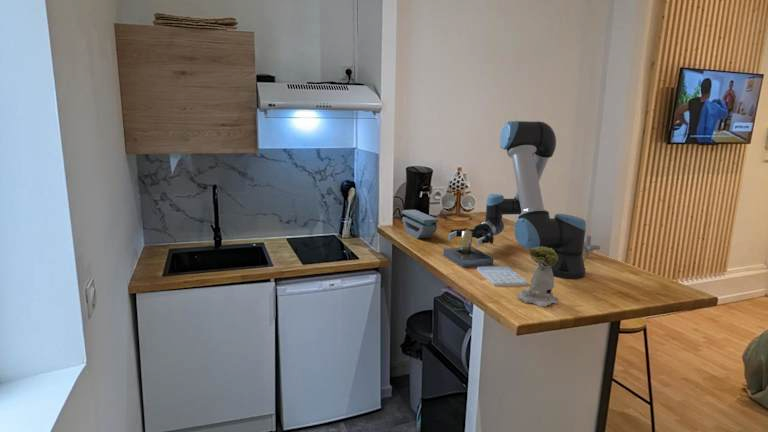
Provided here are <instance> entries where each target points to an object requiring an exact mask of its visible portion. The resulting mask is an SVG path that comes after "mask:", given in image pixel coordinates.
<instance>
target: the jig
mask: <svg viewBox="0 0 768 432" xmlns="http://www.w3.org/2000/svg"><path fill="white" fill-rule="evenodd" d="M460 252H461V246H460V247H450V248H449V247H447V248H443V256H444V257H445V258H447V259H448V260H450V261H451V262H453V263H455V264H456V263H457V264H456V265H457V266H459V267H461V268H474V267H475V268H476V267H489V266H494V260H495V259H494V257H492V256H490V255H488V254H486V253H485V252H483V251H481V250H480V249H477V248H476V247H474V246H471V254H461V253H460Z"/></svg>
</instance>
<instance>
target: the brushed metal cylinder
mask: <svg viewBox="0 0 768 432" xmlns="http://www.w3.org/2000/svg"><path fill="white" fill-rule="evenodd" d="M472 240H473V237H472V231H467V230H464V231H462V236H461V239H460V247H461V252H460V253H461V254H471V247H472V243H473V241H472Z"/></svg>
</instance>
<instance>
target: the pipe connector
mask: <svg viewBox="0 0 768 432" xmlns="http://www.w3.org/2000/svg"><path fill="white" fill-rule="evenodd" d="M591 238H592V236H591V235H586V238H585V241H584V247H583V250H584V256H583V257H585V258H584V259H587V258H588V259H589V257H590V253H593V252H594V250H596V251H597V250H599V251H600V250H601V246H600V245H593V244H591V241H592V240H591Z"/></svg>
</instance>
